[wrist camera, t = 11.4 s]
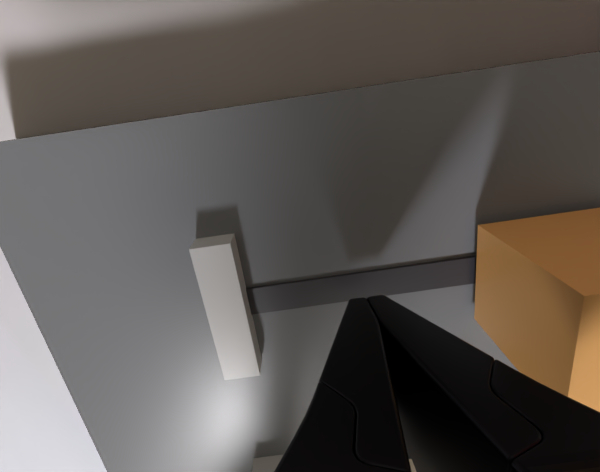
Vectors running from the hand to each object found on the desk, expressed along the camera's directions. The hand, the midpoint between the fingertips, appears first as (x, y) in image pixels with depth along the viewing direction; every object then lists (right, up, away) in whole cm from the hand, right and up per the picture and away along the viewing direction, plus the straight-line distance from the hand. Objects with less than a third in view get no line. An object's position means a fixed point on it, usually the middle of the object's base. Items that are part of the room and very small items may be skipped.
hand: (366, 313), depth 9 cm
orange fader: (+5, +1, +1) cm, 5 cm away
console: (+3, -2, +4) cm, 6 cm away
